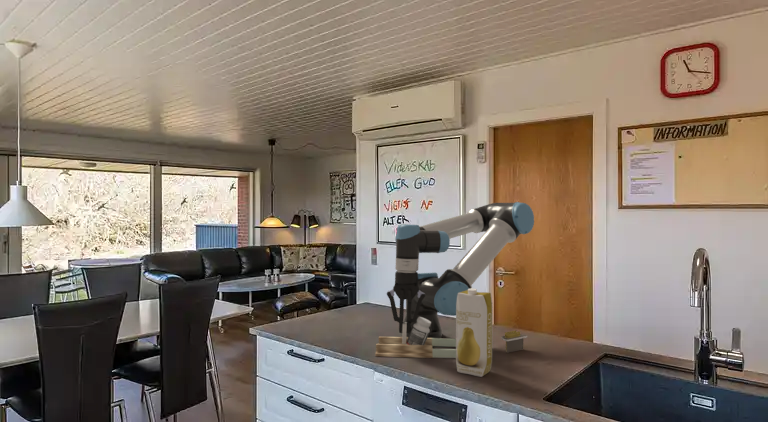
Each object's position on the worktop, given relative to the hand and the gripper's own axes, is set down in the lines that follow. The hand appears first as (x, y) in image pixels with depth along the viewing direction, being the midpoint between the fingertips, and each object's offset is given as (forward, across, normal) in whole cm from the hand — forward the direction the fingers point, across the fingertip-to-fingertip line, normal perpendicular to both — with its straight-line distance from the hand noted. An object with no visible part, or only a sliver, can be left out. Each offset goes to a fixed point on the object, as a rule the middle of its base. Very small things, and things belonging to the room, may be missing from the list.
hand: (404, 342), depth 163 cm
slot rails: (+3, 0, 0) cm, 3 cm away
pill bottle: (+2, +3, 0) cm, 3 cm away
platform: (+2, +36, +5) cm, 36 cm away
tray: (+2, +16, +1) cm, 16 cm away
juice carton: (+2, +21, -19) cm, 29 cm away
